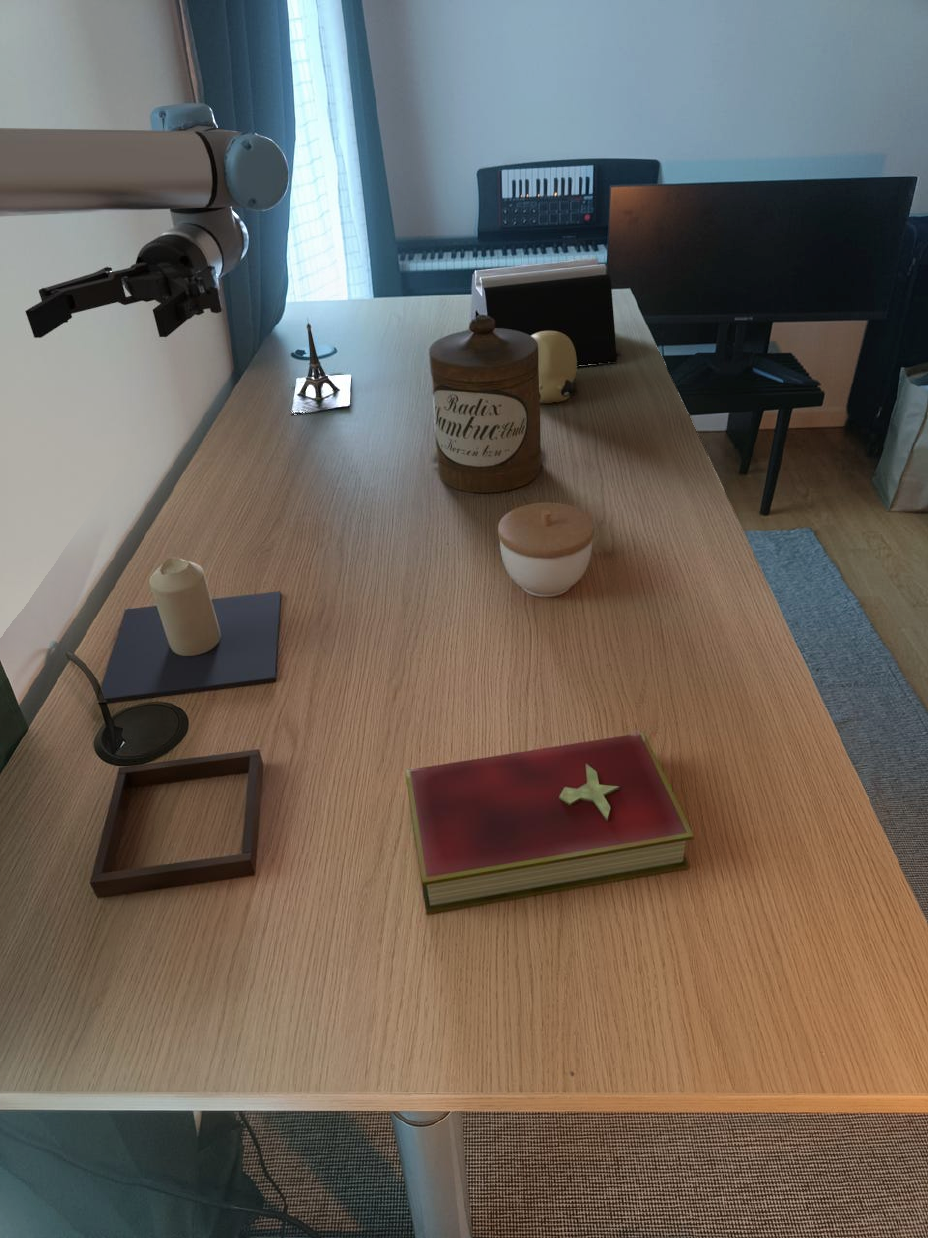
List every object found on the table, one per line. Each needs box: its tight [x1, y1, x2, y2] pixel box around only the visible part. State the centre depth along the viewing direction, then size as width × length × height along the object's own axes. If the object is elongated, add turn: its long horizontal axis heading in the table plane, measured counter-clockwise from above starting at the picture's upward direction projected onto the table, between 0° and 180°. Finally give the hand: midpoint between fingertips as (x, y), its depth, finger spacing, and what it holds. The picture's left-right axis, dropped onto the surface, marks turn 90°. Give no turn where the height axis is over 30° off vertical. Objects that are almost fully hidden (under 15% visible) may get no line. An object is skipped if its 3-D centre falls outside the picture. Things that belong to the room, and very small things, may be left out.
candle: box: [148, 556, 221, 656], centre depth 92 cm, size 6×6×10 cm
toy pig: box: [531, 331, 578, 404], centre depth 144 cm, size 10×12×11 cm
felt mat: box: [100, 590, 282, 704], centre depth 96 cm, size 18×16×1 cm
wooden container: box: [428, 315, 542, 494], centre depth 119 cm, size 15×15×22 cm
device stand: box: [470, 257, 618, 366], centre depth 159 cm, size 22×22×15 cm
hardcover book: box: [404, 732, 695, 915], centre depth 71 cm, size 12×21×4 cm, turn 99°
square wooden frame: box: [89, 748, 264, 899], centre depth 75 cm, size 13×13×2 cm
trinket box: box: [497, 501, 595, 598], centre depth 99 cm, size 11×11×9 cm
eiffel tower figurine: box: [291, 317, 352, 414], centre depth 148 cm, size 15×10×13 cm
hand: (95, 324), depth 87 cm, fingers open, 13 cm apart
